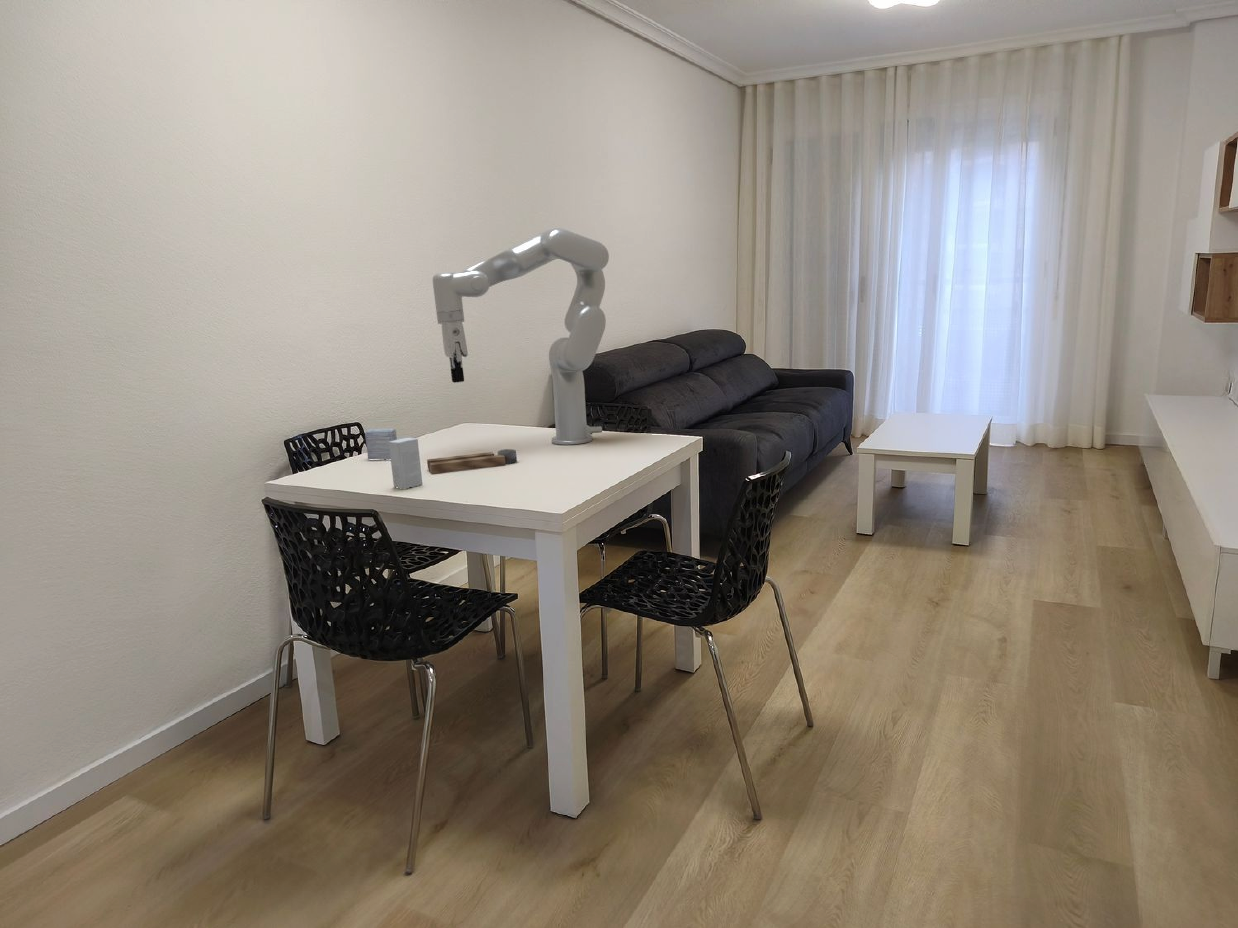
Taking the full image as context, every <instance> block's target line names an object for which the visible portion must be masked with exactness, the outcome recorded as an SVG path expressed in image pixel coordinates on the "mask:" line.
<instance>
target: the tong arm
mask: <svg viewBox="0 0 1238 928" xmlns="http://www.w3.org/2000/svg"><path fill="white" fill-rule="evenodd" d="M494 455H495V453H494V452H493V451H488V452H487V451H486V452H481V453H480V452H479V453H471V454H463V455H453V456H446V457H445V456H444V457H437V458H436V457H435V458H430V459H426V464H427V469H428V470H429V471H430V465H429V463H434V462H442V461H451V460H460V459H468V458H477V457H485V456H494Z"/></svg>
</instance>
